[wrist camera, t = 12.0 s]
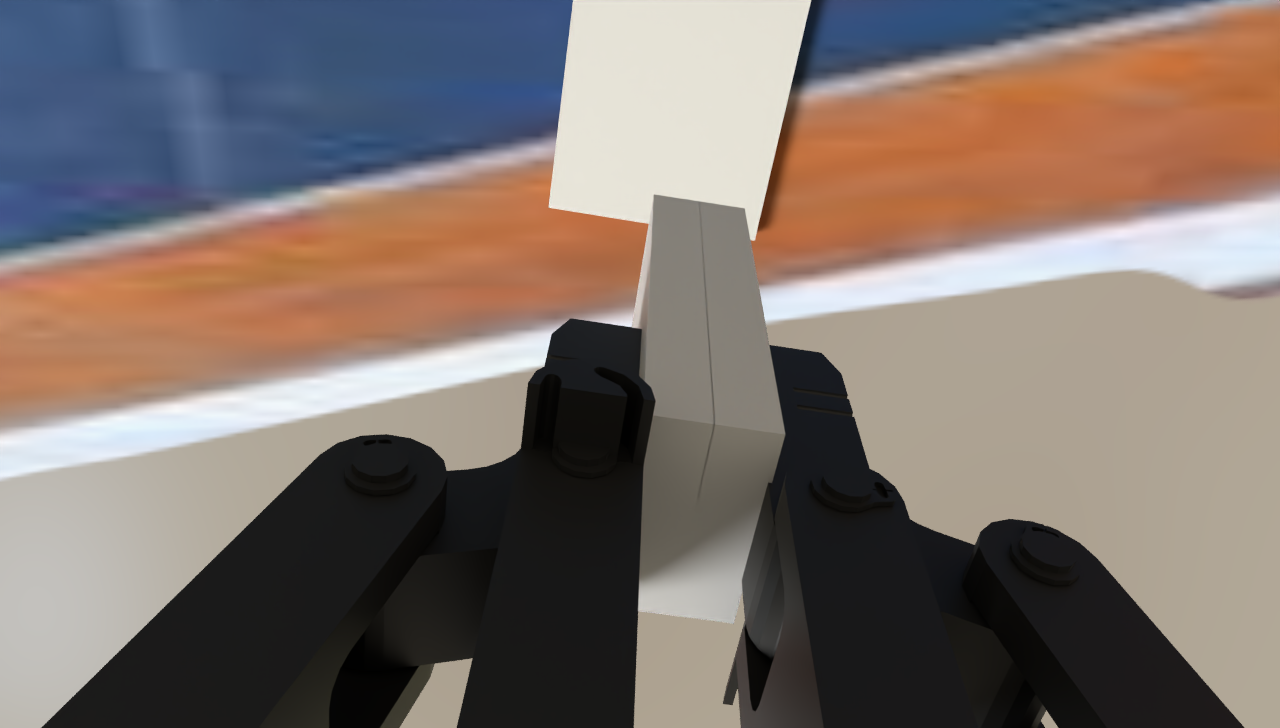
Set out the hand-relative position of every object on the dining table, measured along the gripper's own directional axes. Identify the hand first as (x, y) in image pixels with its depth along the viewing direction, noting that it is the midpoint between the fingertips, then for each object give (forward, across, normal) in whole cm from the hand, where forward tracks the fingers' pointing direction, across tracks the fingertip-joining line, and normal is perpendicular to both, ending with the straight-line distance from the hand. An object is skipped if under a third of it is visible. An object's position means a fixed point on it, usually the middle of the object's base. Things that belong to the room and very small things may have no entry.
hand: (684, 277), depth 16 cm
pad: (+16, 0, 0) cm, 16 cm away
